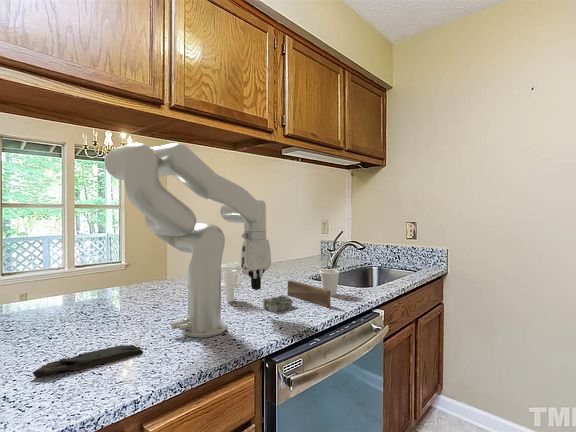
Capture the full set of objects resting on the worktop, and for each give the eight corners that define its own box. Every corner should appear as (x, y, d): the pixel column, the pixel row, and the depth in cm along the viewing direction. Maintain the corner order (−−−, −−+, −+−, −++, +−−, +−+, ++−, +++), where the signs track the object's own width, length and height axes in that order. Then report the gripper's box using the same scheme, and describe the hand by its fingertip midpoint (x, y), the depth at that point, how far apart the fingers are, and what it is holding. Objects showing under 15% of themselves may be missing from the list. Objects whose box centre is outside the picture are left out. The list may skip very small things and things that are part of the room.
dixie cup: (342, 293, 141) (342, 270, 141) (334, 297, 134) (335, 273, 133) (324, 290, 145) (324, 268, 145) (316, 295, 138) (316, 271, 138)
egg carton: (271, 313, 113) (271, 302, 113) (260, 308, 119) (260, 297, 119) (295, 308, 120) (295, 297, 120) (283, 303, 126) (283, 292, 126)
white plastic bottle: (235, 303, 124) (236, 264, 123) (218, 302, 125) (218, 263, 125) (241, 298, 131) (241, 261, 130) (224, 297, 132) (224, 260, 131)
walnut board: (326, 307, 120) (326, 291, 120) (287, 295, 137) (287, 280, 137) (330, 306, 122) (330, 290, 122) (291, 294, 138) (291, 280, 138)
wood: (136, 345, 86) (136, 333, 86) (145, 354, 81) (145, 342, 81) (30, 372, 72) (30, 358, 72) (32, 385, 66) (32, 370, 66)
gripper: (243, 238, 104) (243, 295, 105) (279, 235, 114) (279, 287, 115) (230, 237, 110) (231, 290, 111) (266, 233, 120) (266, 283, 120)
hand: (256, 288), depth 113 cm, fingers closed
